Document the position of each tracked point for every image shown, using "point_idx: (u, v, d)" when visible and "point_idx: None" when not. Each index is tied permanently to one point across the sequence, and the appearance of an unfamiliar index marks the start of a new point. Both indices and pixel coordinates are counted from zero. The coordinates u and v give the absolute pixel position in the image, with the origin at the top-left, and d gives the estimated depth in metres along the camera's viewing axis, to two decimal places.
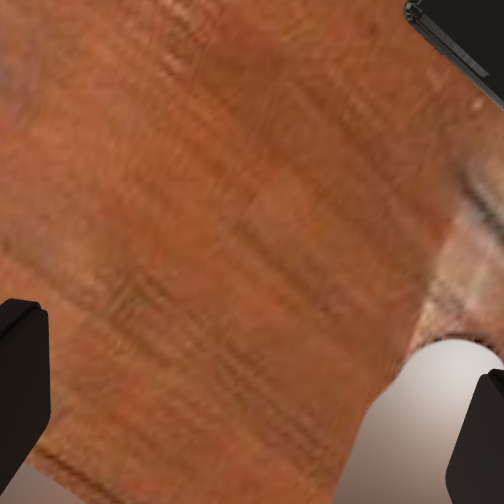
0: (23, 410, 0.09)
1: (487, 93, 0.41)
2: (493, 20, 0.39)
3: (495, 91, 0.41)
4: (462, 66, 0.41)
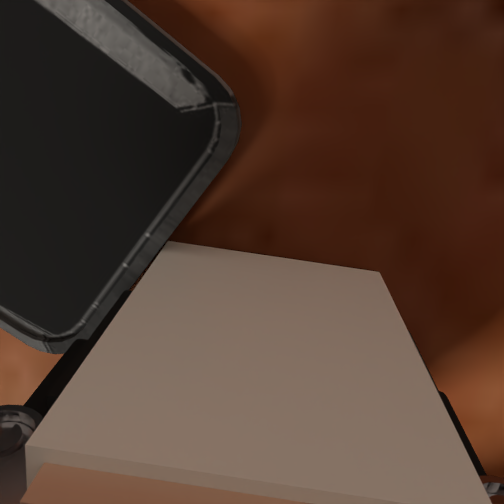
0: None
1: None
2: None
3: None
4: None
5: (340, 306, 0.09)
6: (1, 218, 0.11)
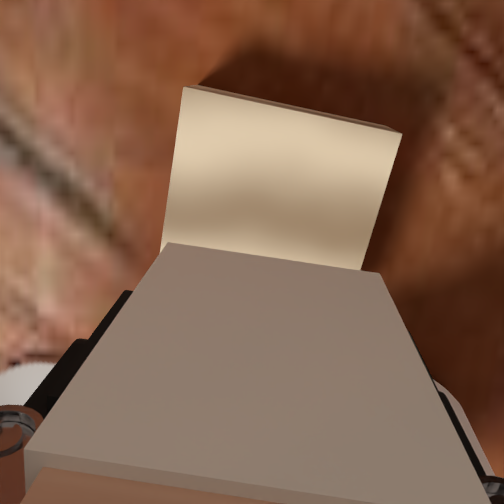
0: None
1: None
2: None
3: None
4: None
5: (340, 308, 0.09)
6: None
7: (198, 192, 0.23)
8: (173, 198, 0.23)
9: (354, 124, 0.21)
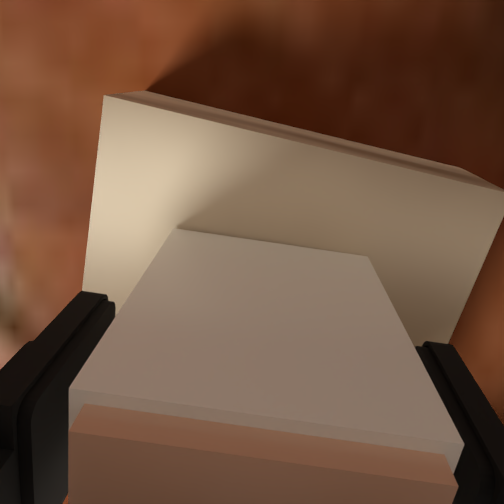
0: None
1: None
2: None
3: None
4: None
5: (332, 284, 0.10)
6: None
7: (136, 282, 0.13)
8: (92, 291, 0.13)
9: (424, 174, 0.11)
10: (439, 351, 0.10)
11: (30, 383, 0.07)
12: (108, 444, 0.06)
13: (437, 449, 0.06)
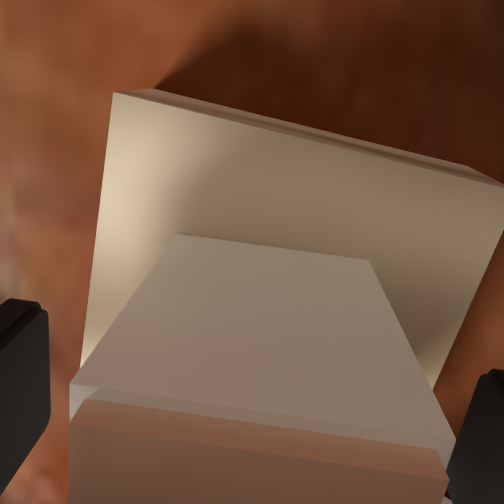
0: (23, 410, 0.09)
1: None
2: None
3: None
4: None
5: (331, 286, 0.10)
6: None
7: (144, 278, 0.13)
8: (100, 287, 0.13)
9: (431, 171, 0.11)
10: None
11: None
12: (107, 437, 0.06)
13: (429, 444, 0.06)
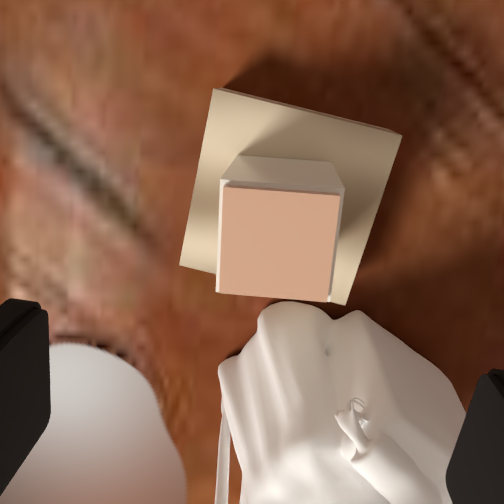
0: (23, 410, 0.09)
1: None
2: None
3: None
4: None
5: (310, 167, 0.23)
6: None
7: None
8: (199, 186, 0.26)
9: (361, 126, 0.24)
10: None
11: None
12: (234, 191, 0.19)
13: (336, 191, 0.19)
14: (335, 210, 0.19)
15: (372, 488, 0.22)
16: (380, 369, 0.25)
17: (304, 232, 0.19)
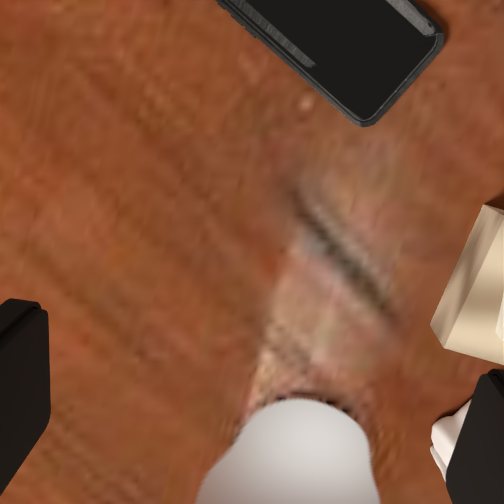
0: (23, 410, 0.09)
1: (315, 88, 0.32)
2: None
3: (325, 87, 0.32)
4: (280, 53, 0.31)
5: None
6: (356, 73, 0.31)
7: (495, 285, 0.32)
8: (475, 288, 0.32)
9: None
10: None
11: None
12: None
13: None
14: None
15: None
16: None
17: None
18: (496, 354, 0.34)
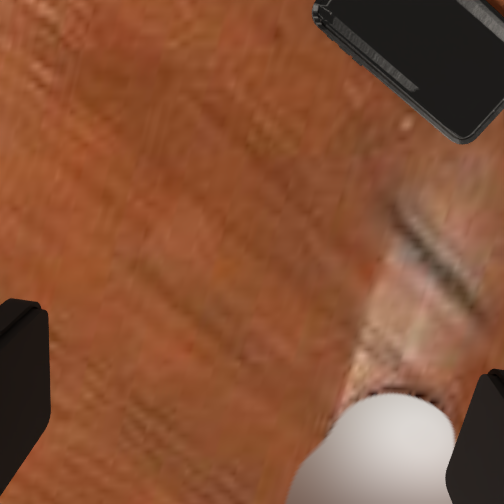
0: (23, 410, 0.09)
1: (418, 111, 0.34)
2: (419, 23, 0.32)
3: (427, 109, 0.34)
4: (386, 80, 0.34)
5: None
6: (456, 95, 0.34)
7: None
8: None
9: None
10: None
11: None
12: None
13: None
14: None
15: None
16: None
17: None
18: None
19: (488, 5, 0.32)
